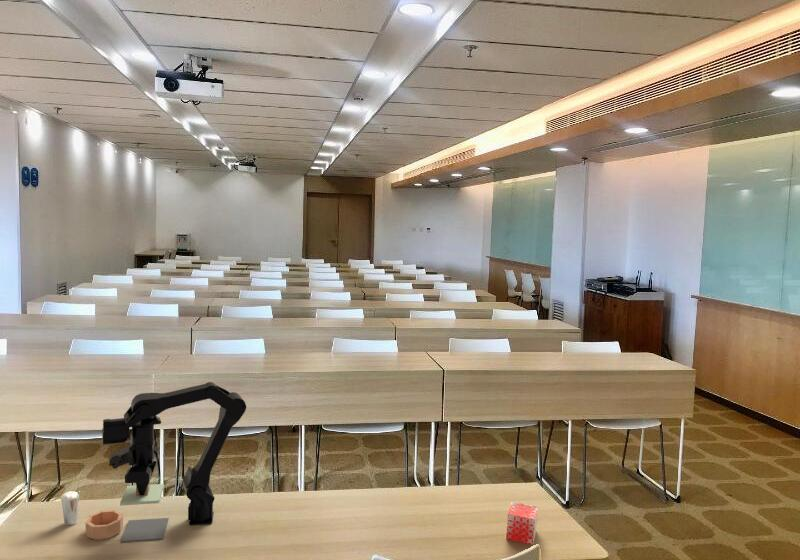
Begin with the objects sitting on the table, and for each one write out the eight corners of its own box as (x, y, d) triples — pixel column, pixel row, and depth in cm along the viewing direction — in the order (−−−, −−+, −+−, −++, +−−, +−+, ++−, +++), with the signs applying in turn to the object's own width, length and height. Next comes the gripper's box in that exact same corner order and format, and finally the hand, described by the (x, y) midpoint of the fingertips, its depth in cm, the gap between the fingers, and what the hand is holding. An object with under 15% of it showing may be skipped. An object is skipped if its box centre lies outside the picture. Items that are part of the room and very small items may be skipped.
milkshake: (74, 528, 173) (73, 495, 172) (58, 525, 174) (57, 492, 173) (85, 520, 178) (85, 488, 176) (69, 517, 179) (68, 485, 177)
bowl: (124, 522, 178) (124, 509, 177) (118, 538, 169) (118, 525, 169) (91, 524, 176) (91, 511, 175) (83, 541, 167) (82, 527, 167)
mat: (168, 519, 181) (168, 517, 181) (163, 539, 170) (163, 538, 170) (128, 521, 178) (128, 520, 178) (120, 542, 168) (120, 541, 167)
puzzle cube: (533, 545, 177) (535, 519, 176) (506, 539, 179) (507, 513, 178) (536, 531, 184) (538, 506, 183) (510, 525, 187) (511, 501, 186)
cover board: (164, 486, 179) (164, 469, 178) (158, 503, 169) (158, 485, 168) (127, 488, 176) (127, 471, 176) (120, 505, 167) (119, 487, 166)
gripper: (118, 428, 178) (119, 479, 180) (103, 454, 160) (104, 510, 162) (159, 426, 180) (159, 476, 182) (149, 452, 162) (149, 508, 164)
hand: (142, 492), depth 172 cm, fingers closed on cover board, 3 cm apart
